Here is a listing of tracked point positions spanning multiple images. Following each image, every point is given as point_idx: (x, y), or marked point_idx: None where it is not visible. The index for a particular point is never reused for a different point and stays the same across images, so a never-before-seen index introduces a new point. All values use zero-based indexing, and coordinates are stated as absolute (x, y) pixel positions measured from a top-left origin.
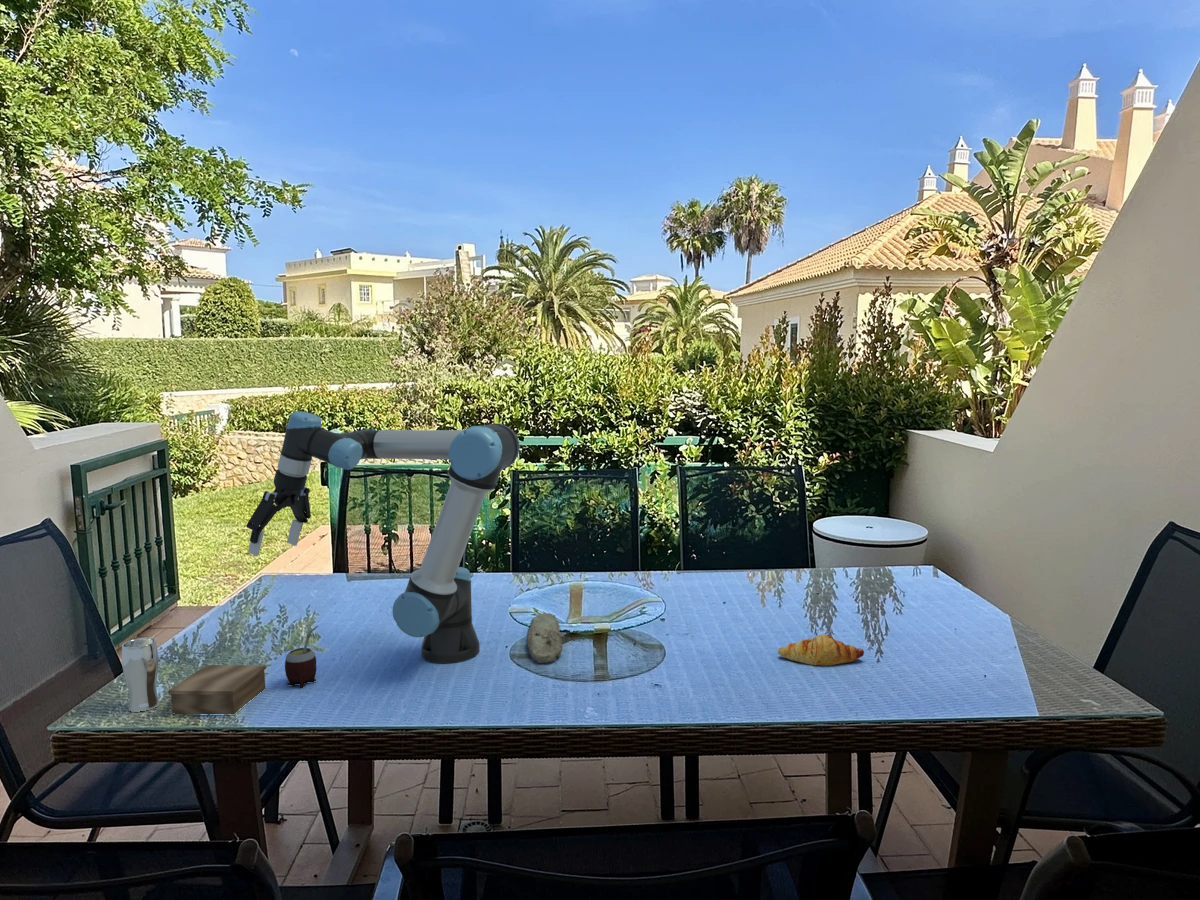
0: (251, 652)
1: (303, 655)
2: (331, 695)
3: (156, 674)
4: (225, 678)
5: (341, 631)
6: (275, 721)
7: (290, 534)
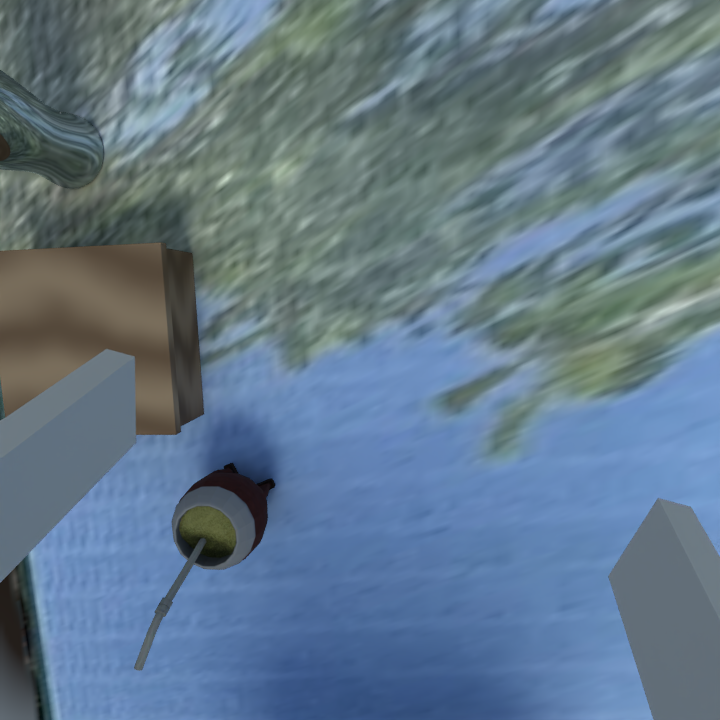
0: (470, 219)
1: (183, 556)
2: (184, 595)
3: (12, 168)
4: (76, 366)
5: (690, 443)
6: None
7: (686, 604)
